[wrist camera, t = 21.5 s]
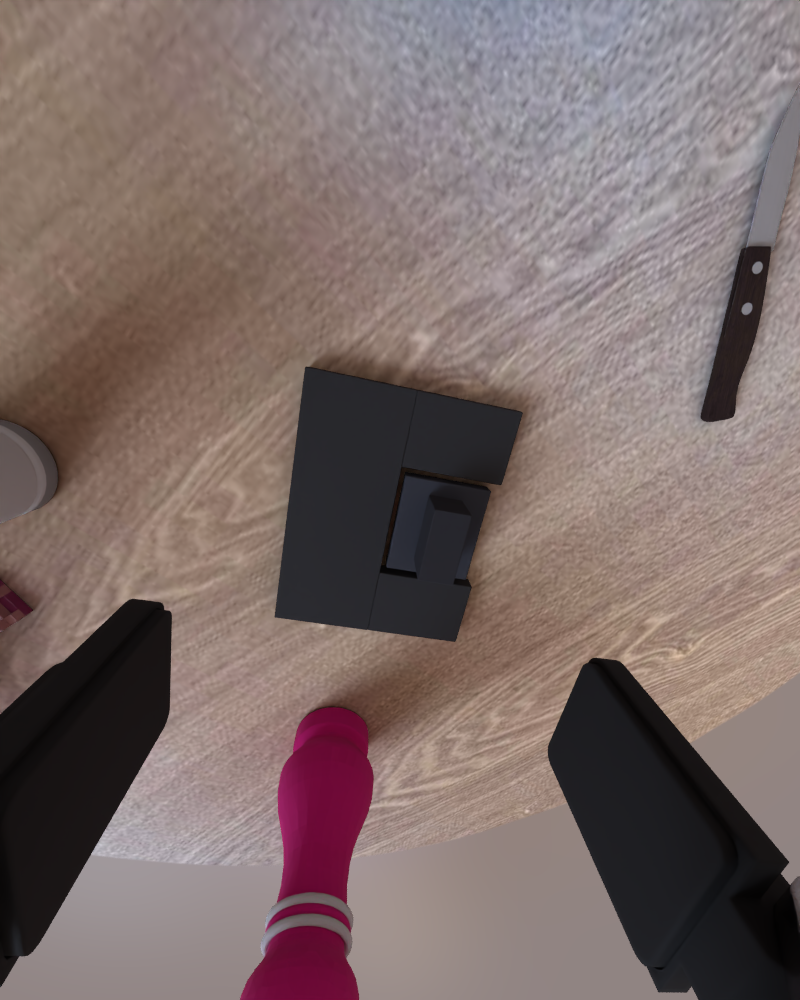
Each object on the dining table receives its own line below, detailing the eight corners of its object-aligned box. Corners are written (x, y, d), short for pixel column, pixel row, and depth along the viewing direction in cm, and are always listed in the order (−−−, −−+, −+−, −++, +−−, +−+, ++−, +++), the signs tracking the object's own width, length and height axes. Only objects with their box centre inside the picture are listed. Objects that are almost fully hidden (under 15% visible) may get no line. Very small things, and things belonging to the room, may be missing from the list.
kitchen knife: (736, 422, 26) (708, 422, 26) (724, 420, 27) (697, 420, 27) (827, 75, 21) (791, 74, 20) (808, 88, 22) (773, 87, 21)
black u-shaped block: (308, 366, 25) (305, 366, 23) (517, 410, 26) (523, 412, 25) (278, 608, 30) (274, 617, 29) (453, 632, 32) (455, 642, 30)
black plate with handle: (404, 471, 27) (409, 488, 23) (486, 486, 28) (504, 505, 24) (385, 560, 29) (387, 589, 25) (462, 572, 30) (475, 603, 26)
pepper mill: (275, 740, 34) (146, 1202, 15) (323, 687, 33) (248, 1128, 14) (341, 774, 36) (300, 1228, 17) (390, 726, 34) (406, 1164, 15)
